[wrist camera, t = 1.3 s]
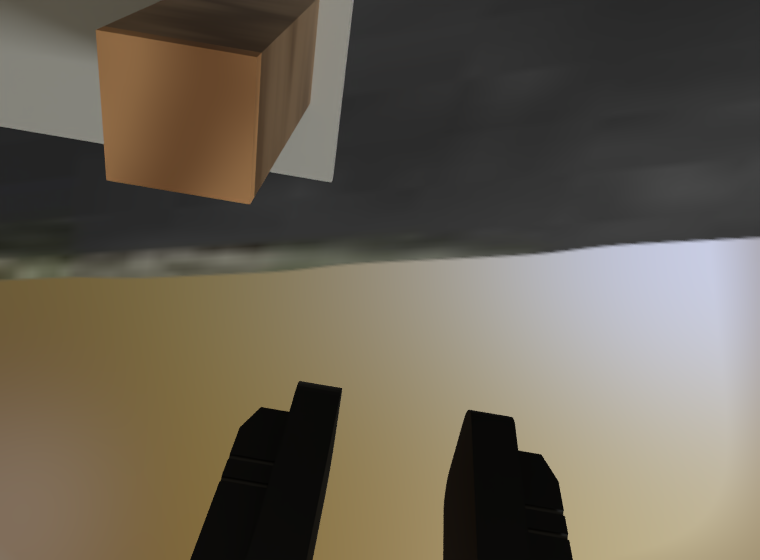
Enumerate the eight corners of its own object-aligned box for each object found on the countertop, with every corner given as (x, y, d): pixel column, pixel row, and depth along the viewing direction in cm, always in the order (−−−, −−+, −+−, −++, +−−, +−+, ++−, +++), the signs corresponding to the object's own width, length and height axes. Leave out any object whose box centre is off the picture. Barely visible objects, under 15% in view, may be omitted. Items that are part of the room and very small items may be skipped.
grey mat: (-76, 109, 36) (-82, 112, 36) (-137, -183, 29) (-146, -184, 29) (332, 178, 36) (331, 182, 36) (364, -98, 29) (363, -98, 29)
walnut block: (210, 86, 34) (106, 180, 23) (212, -22, 31) (95, 30, 21) (310, 103, 34) (250, 204, 23) (320, -4, 31) (257, 56, 21)
